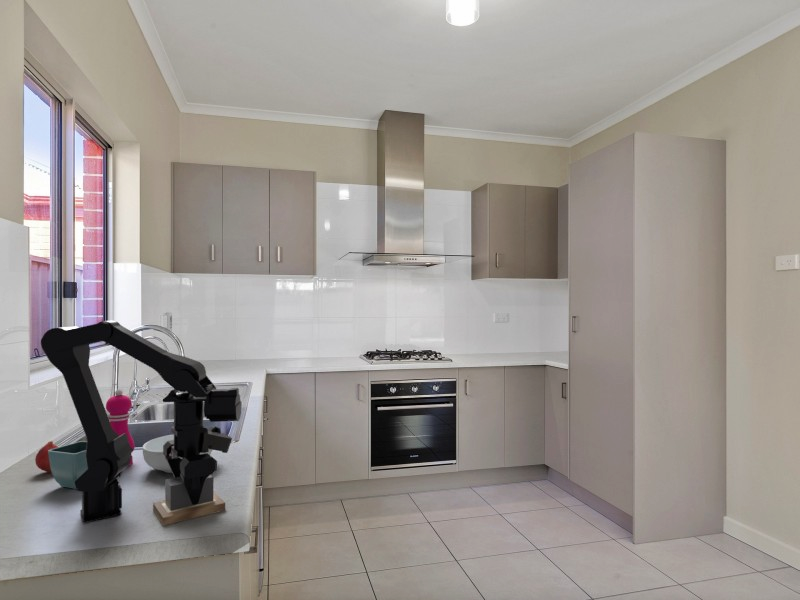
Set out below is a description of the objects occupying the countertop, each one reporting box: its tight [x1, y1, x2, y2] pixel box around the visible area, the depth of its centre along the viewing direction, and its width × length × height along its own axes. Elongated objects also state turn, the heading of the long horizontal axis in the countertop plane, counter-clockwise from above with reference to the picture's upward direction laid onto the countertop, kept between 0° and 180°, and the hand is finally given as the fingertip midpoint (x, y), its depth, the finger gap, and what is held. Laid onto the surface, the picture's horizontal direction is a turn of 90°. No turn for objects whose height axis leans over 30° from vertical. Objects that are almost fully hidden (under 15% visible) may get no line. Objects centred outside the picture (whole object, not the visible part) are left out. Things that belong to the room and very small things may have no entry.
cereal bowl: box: [142, 433, 213, 474], centre depth 132 cm, size 17×17×7 cm
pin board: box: [152, 490, 226, 526], centre depth 106 cm, size 12×9×2 cm
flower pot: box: [48, 440, 88, 490], centre depth 120 cm, size 9×9×9 cm
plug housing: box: [164, 474, 214, 511], centre depth 106 cm, size 8×4×5 cm, turn 127°
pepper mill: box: [105, 388, 136, 467], centre depth 134 cm, size 7×7×20 cm
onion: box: [34, 440, 59, 474], centre depth 129 cm, size 6×6×8 cm
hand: (189, 497), depth 106 cm, fingers open, 9 cm apart
